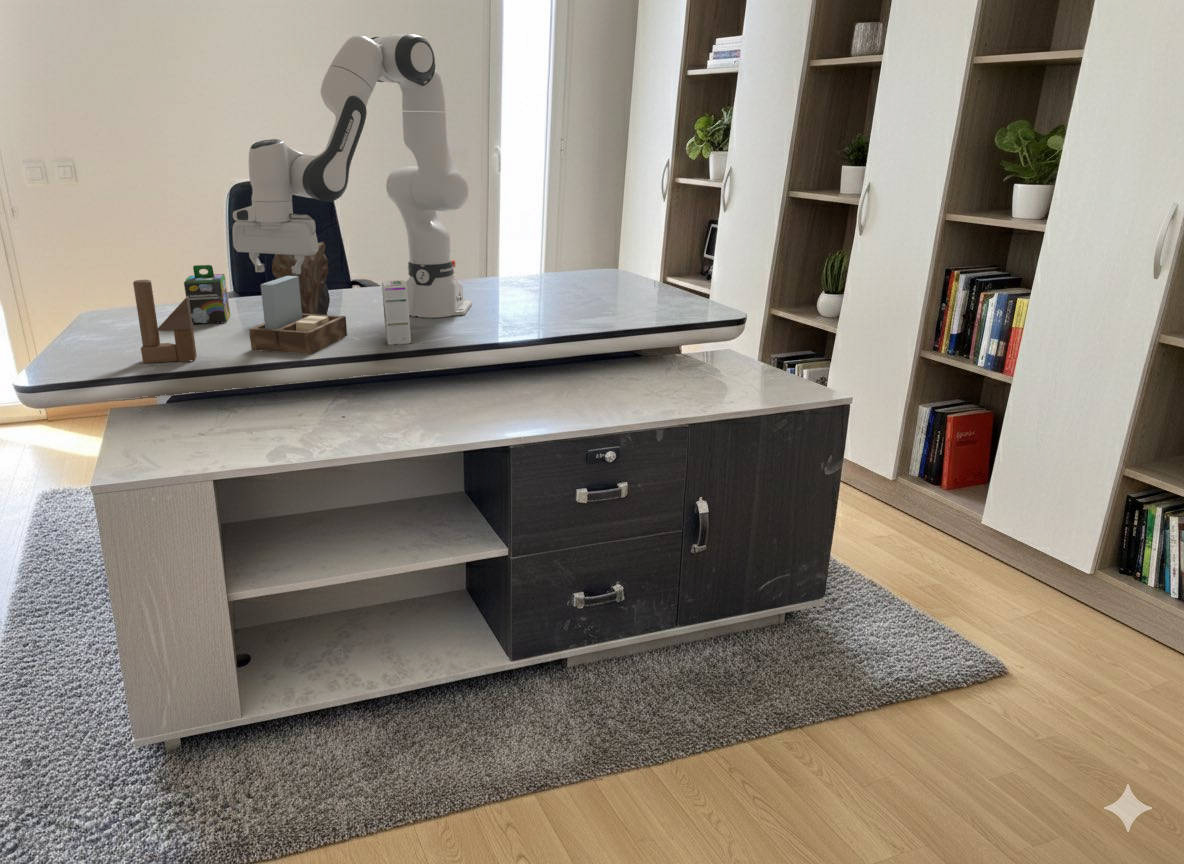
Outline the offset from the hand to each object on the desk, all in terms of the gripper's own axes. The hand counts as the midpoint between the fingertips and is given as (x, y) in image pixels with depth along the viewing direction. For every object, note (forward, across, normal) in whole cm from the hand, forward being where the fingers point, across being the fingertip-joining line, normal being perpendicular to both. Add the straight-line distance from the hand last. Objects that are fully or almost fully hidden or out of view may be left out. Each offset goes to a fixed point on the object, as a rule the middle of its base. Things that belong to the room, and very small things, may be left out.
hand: (278, 272), depth 219 cm
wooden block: (+17, +16, +22) cm, 32 cm away
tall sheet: (+17, 0, 0) cm, 17 cm away
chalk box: (+17, +31, -16) cm, 39 cm away
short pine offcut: (+13, -8, 0) cm, 15 cm away
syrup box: (+17, -26, -7) cm, 32 cm away
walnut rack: (+17, -4, 0) cm, 17 cm away
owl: (+17, +8, -24) cm, 31 cm away
